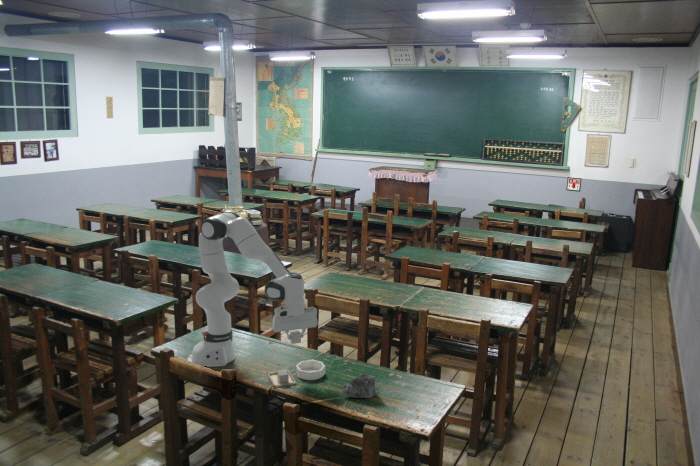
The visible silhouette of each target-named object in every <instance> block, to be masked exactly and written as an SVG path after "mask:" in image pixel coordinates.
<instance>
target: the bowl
mask: <svg viewBox="0 0 700 466" xmlns="http://www.w3.org/2000/svg"><path fill="white" fill-rule="evenodd" d="M295 373H296V376H297V378H299V379H302V380H304V381H305V380H306V381H315V380H319V379H321V378H323V377H324V376H325V374H326V365H325V364H324V362H323V361H320V360H315V359H308V360H301V361H300V362H299V363H297V364H296V365H295Z"/></svg>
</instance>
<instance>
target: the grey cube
mask: <svg viewBox="0 0 700 466" xmlns="http://www.w3.org/2000/svg"><path fill="white" fill-rule="evenodd" d="M289 335H291V338H292V339H291V340H289V341H290V343H291V344H293V345H294V344H300V343H302V338H301V332H300V329H297V330H290V331H289Z"/></svg>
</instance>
